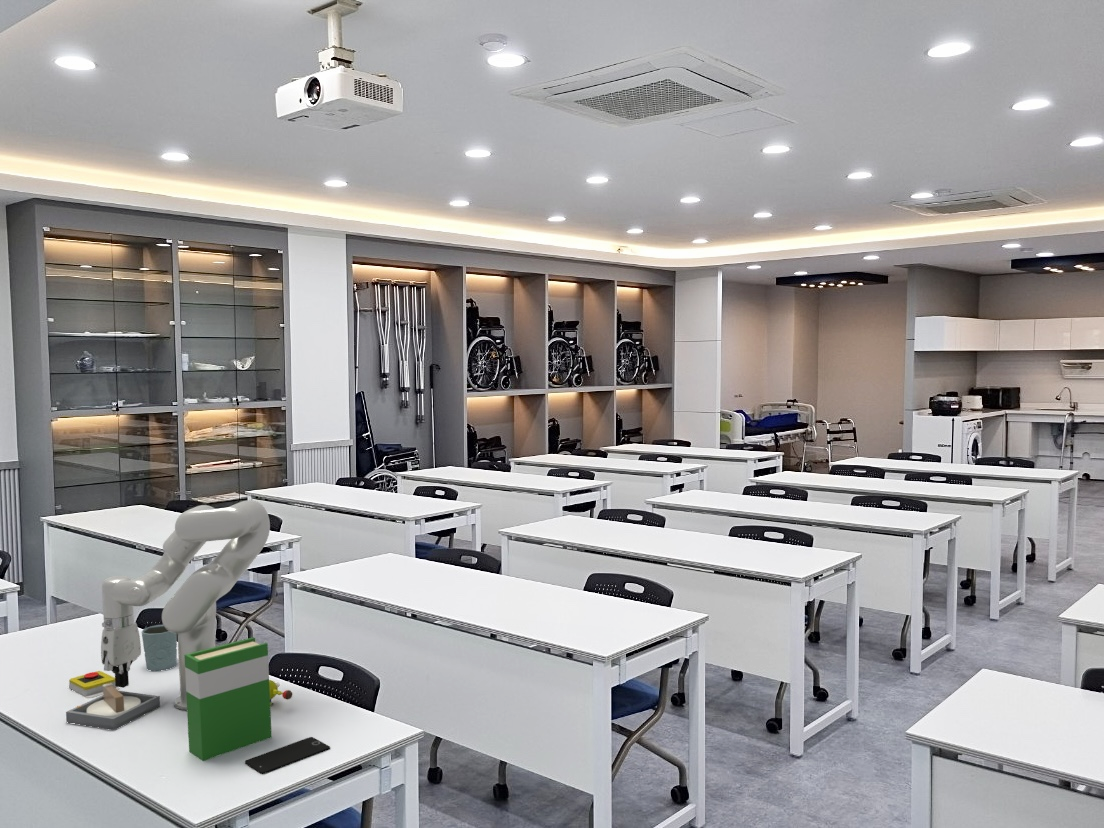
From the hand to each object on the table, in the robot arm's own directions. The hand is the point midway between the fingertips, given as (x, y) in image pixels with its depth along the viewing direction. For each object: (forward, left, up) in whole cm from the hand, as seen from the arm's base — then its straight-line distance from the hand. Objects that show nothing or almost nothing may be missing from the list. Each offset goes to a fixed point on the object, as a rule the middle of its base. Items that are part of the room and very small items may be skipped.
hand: (122, 685), depth 249 cm
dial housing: (-5, +8, -5) cm, 10 cm away
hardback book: (-48, +14, -5) cm, 50 cm away
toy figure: (-41, -10, -5) cm, 42 cm away
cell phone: (-65, +15, -5) cm, 67 cm away
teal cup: (+11, -26, -5) cm, 29 cm away
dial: (-5, +8, -3) cm, 10 cm away
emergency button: (+17, -6, -5) cm, 19 cm away
